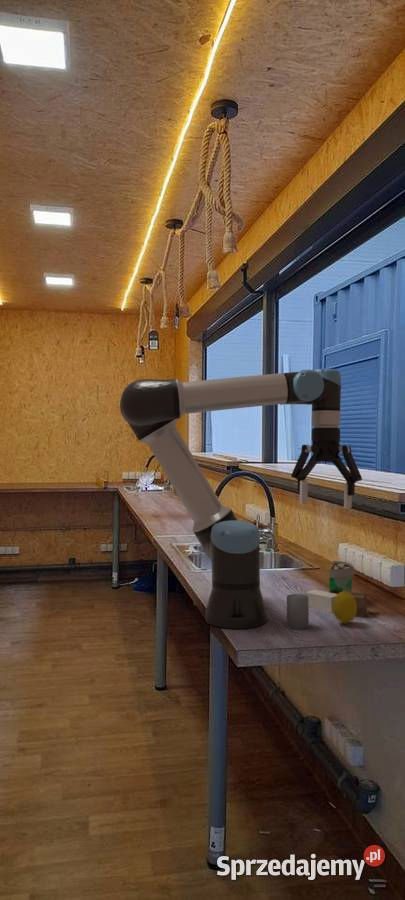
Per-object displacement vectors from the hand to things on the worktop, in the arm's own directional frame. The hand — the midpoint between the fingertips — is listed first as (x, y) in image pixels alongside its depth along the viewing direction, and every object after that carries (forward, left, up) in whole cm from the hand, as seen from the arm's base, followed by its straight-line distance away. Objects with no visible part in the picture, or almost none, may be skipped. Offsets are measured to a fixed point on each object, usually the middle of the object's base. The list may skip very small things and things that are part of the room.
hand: (325, 506), depth 170 cm
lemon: (-15, -16, -26) cm, 34 cm away
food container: (+1, -5, -26) cm, 26 cm away
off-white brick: (-7, -4, -26) cm, 27 cm away
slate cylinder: (-24, -9, -26) cm, 36 cm away
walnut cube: (-6, -13, -26) cm, 29 cm away
